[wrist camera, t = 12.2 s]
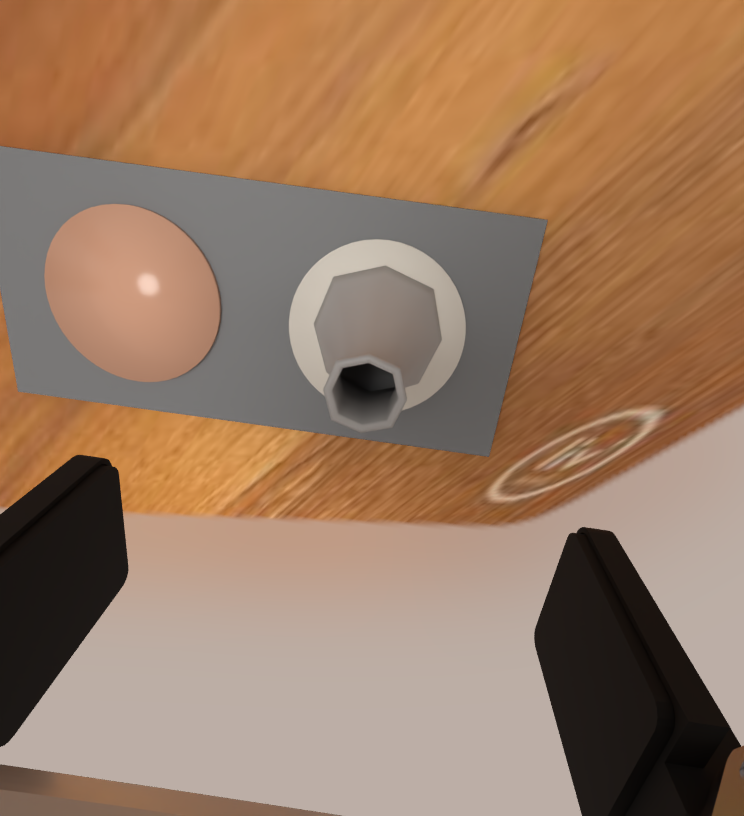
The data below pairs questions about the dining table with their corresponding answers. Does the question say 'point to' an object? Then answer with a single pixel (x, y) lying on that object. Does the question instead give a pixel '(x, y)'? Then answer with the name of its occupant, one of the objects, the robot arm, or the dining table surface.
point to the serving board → (264, 292)
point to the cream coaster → (368, 257)
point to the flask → (375, 344)
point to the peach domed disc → (132, 292)
